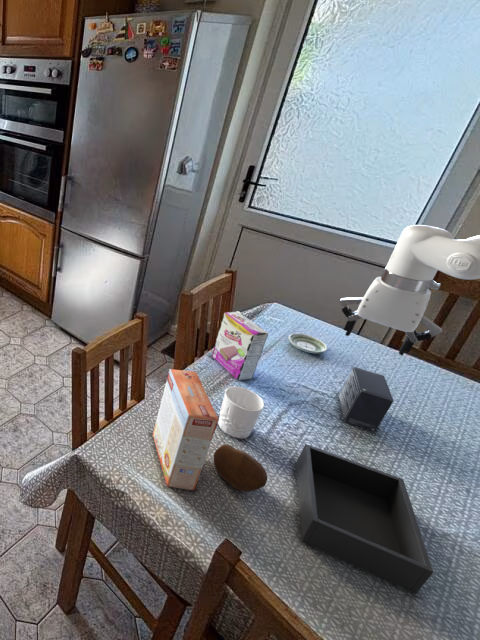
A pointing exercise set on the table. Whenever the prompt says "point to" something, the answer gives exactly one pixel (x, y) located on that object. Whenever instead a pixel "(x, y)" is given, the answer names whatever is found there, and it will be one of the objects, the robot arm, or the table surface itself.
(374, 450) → the table surface
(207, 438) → the cracker box
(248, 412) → the white cup
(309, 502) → the basket
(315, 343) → the saucer
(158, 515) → the table surface
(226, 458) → the potato
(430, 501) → the table surface
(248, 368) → the candy bar box
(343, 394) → the small box
